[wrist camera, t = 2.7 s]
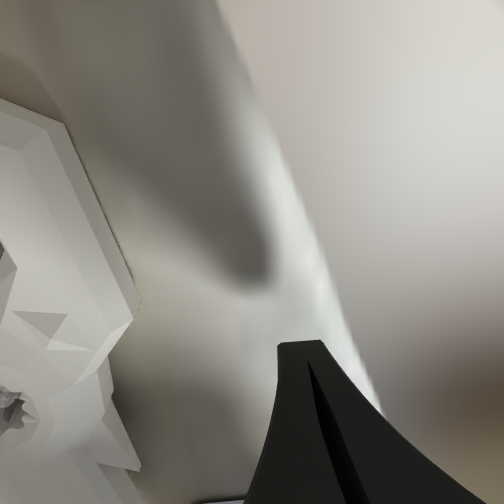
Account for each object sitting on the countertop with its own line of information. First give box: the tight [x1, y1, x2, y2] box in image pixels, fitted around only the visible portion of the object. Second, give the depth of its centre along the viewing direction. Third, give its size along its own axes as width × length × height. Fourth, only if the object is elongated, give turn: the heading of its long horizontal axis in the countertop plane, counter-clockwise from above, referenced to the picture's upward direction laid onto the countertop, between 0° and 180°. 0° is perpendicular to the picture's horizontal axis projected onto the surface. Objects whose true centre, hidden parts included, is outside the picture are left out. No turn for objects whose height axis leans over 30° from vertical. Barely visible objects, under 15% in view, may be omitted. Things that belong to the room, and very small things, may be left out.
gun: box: [0, 98, 144, 504], centre depth 13 cm, size 18×3×10 cm
